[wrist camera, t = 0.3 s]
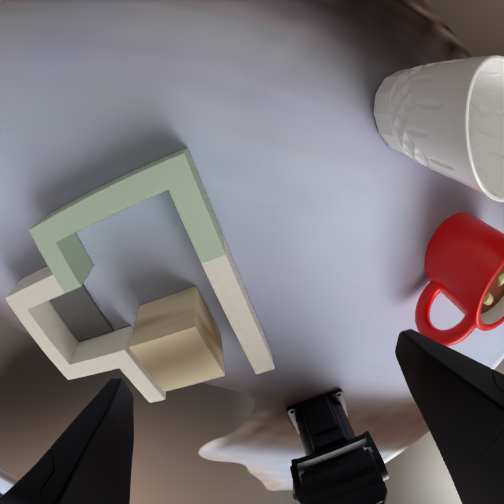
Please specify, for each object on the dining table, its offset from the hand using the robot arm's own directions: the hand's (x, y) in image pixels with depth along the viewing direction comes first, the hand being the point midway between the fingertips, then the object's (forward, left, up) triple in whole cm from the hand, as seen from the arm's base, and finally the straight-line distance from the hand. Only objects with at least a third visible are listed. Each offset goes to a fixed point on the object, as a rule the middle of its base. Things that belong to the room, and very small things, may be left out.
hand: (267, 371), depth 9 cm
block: (-6, +7, -14) cm, 17 cm away
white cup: (+4, -15, -14) cm, 21 cm away
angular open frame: (-3, +10, -14) cm, 17 cm away
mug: (-11, -17, -14) cm, 25 cm away
